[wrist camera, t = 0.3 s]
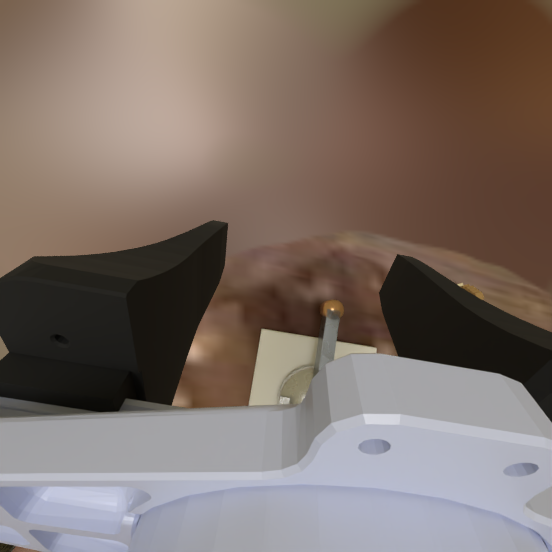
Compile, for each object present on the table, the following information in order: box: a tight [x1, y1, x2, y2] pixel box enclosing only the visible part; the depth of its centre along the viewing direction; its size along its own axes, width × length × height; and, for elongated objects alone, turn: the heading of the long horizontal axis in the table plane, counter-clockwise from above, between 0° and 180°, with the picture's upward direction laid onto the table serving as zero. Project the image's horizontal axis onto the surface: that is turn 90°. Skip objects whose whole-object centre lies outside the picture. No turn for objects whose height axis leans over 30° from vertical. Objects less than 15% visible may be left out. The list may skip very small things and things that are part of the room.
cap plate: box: [248, 329, 377, 406], centre depth 38 cm, size 16×16×2 cm
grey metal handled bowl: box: [277, 300, 344, 404], centre depth 35 cm, size 18×9×5 cm, turn 170°
